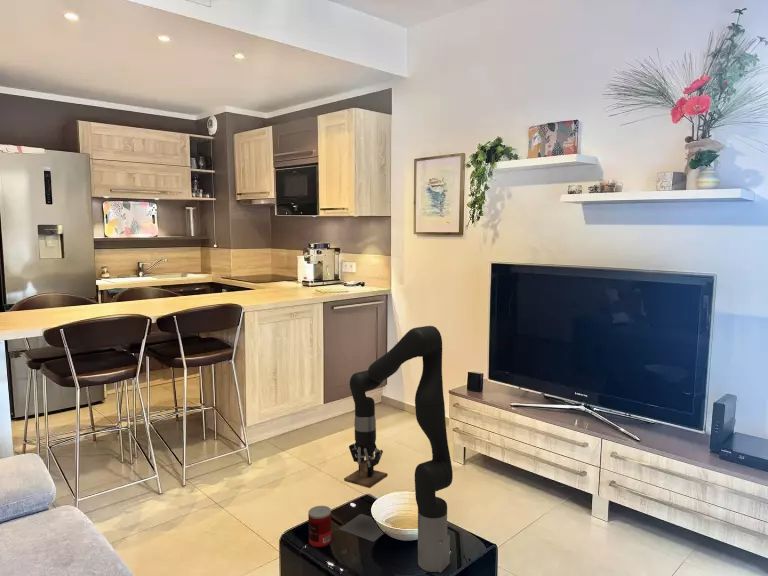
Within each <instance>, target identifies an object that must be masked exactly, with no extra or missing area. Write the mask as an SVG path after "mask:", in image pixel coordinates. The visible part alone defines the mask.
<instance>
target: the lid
mask: <svg viewBox="0 0 768 576" xmlns="http://www.w3.org/2000/svg"><path fill="white" fill-rule="evenodd" d="M388 475H389V474H388V473H387V472H383V471H380V470H376V469H374V474H373V475H372V476H371V477H368V464H367V461H366V459H364V461H362V462H360V473H359V469H357V470H356V471H354V472H352V473H350V474H348V475H347V476H346V477H344V478H343V480H344V481H343V482H347V483H350V484H353V485H358V486H360V487H364V488H368V489H371V488H373V487H374V486H375V485H377V484H378V483H380V482H382V481H383V480H384V479H386V478H387V477H388Z"/></svg>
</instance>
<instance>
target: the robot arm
mask: <svg viewBox="0 0 768 576" xmlns="http://www.w3.org/2000/svg"><path fill="white" fill-rule="evenodd" d="M418 357H419V358H422V373H421V377H420V379H419V382H418V385H417V388H416V392H415V396H414V406H415V407H414V409H415V419H416V422H417V424H418V426H419V427H420V429H421V430H422V432H423V433H424V435H425V436H426V438H427V439H428V441H429V443H430V448H431V455H432V456H431V457H432V459H431V460H430V459H429V460H428V461H424V462H421V463H419V464H417V466H416V467H415V470H414V489H415V491H414V492H415V502H416V505H417V564H418V566H419V568H421V569H422V570H423V571H426V572H431V573H442V572H443V571H444V570H445V569H447V567H448V566H449V565H450V564H451V561H450V560H451V557H450V555H451V550H450V547H451V545H450V543H451V541H450V540H451V535H450V534H448V503H447V502H446V500H444V499H443V498H441V497H439V496H436V493H437V492H438V491H441V490H443V489H447V488H448V487H450V486H451V485H452V482H453V479H454V478H453V473H454V472H453V467H452V466H453V465H452V458H451V455H450V449H449V441H448V435H447V434H448V433H447V425H446V424H447V423H446V422H447V421H446V407H445V398H444V385H443V384H444V383H443V382H444V381H443V338H442V335H441V332H440V330H439V329H438V328H437V327H435V326H433V325H424V326H417V327H414V328H413V327H412V328H411V329H409V330H408V331H407V332H406V333H405V334H404V335H403V336H402V337H401V339H399V341H398V342H396V344H394V346H393V347H392V348H391V349H390V350H389V351H387V352H386V353H385V354H384V355H382V356H381V357H379V358H378V359H376V360H374V362H372V363H370V365H369V366H368V369H366V370H362V371H358V372H355V373H353V374H352V375H351V377H350V379H349V389H350V393H351V395H352V399H353V402H354V421H353V422H354V441H355V443H352V444H350V445H349V446H348V448H349V451H350V454H351V457H352V460H353V462H354V463H357V465H358V470H359V473H360V462H362V461H364V460H366V461H367V464H368V477H371V476H372V475H373V474H374V470H375V469H374V468H375V466H378V465H379V463H380V460H381V458H382V456H383V453H384V450H383V449H379V448H378V447H377V444H376V440H377V423H376V422H377V420H376V404H375V403H376V402H375V400H374V398H372V397H370V396H367V395H366V392H370V391H373V390H375V389H377V388H378V387H379V386H380V385H382V383H383V382H384V381H385V380H386V379H388V378H390V377H392V376H393V375H394V374H396V373H397V372H398V370H399V369H400V368H401V366H402V364H405V363H406V362H407V361H410V360H412V359H415V358H418Z"/></svg>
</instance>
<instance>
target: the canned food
mask: <svg viewBox="0 0 768 576" xmlns="http://www.w3.org/2000/svg"><path fill="white" fill-rule="evenodd" d="M307 519H308V543H309V546H312V547H315V548H323V547H327V546H329V545H330V543H331V542H332V540H333V539H332V538H333V537H332V535H333V534H332V509H331V508H330V507H329V506H327V505H316V506H313V507H311V508H310V509H309V510H308V516H307Z"/></svg>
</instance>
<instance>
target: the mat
mask: <svg viewBox="0 0 768 576" xmlns="http://www.w3.org/2000/svg"><path fill="white" fill-rule="evenodd" d="M372 518H373V517H372V516H369V515H366V514H363V513H359V514H358V515H357V516H355V517H354V518H352V519H351V520H350V521H348V522H347V523H345V524H344V525H343V526H341V527H340V528H339V530H341V531H343V532H345V533H347V534H351V535H354V536H356V537H359V538H362V539H365V540H368V541H370V542H373V543H374V542H376V540H378V539H379V538H381V537H382V535H384V534H385V533H383V532H382V531H381V530H380V529H379V528H378V526H377V524H376V523H375V522H374V520H373V519H372Z"/></svg>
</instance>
